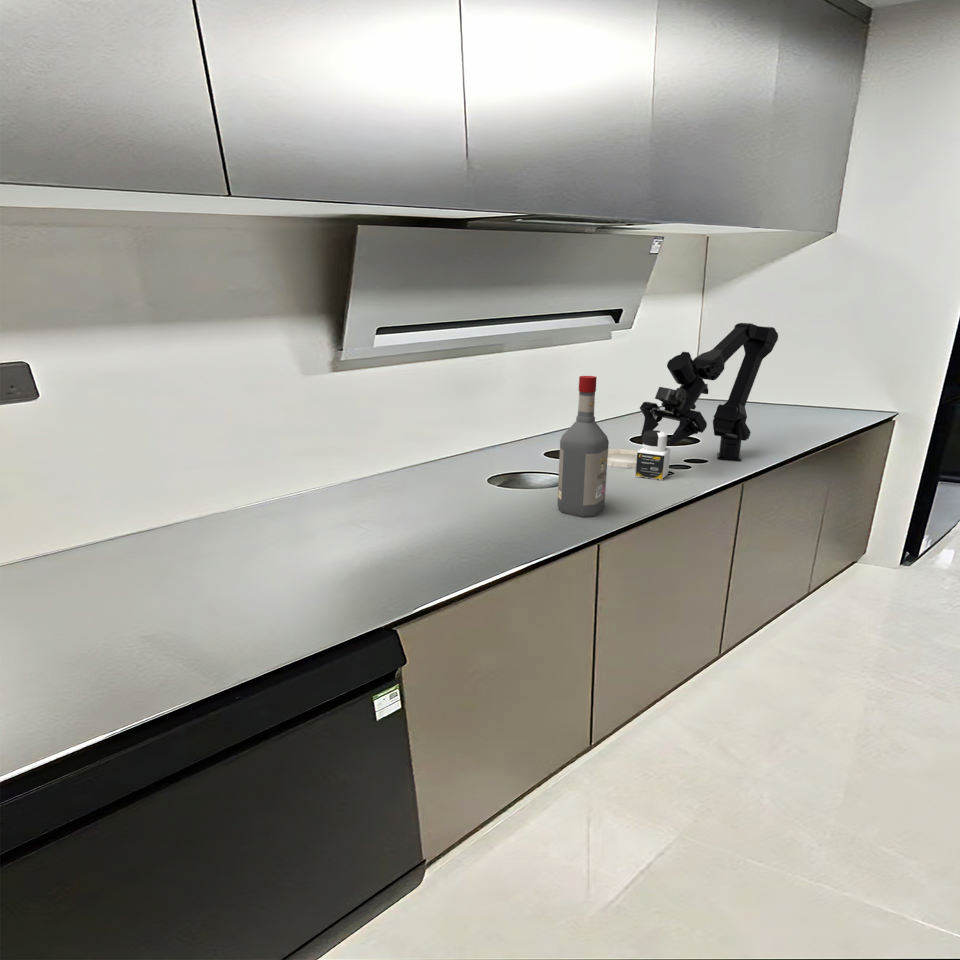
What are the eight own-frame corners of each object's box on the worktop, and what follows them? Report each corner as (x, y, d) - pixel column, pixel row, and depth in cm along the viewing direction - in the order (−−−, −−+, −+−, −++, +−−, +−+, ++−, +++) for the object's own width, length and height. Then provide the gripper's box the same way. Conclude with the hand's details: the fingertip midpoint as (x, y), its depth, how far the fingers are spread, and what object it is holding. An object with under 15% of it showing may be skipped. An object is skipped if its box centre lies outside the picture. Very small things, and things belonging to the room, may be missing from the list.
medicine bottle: (634, 477, 176) (638, 432, 172) (642, 470, 182) (645, 427, 178) (662, 480, 172) (666, 435, 169) (668, 474, 178) (672, 430, 175)
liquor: (607, 508, 151) (616, 376, 142) (590, 519, 144) (598, 381, 135) (571, 500, 156) (578, 372, 147) (553, 511, 149) (558, 377, 140)
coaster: (599, 451, 201) (600, 447, 201) (654, 456, 196) (654, 451, 196) (591, 465, 187) (591, 459, 186) (649, 470, 182) (649, 465, 181)
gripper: (647, 371, 180) (615, 416, 177) (704, 380, 165) (671, 428, 162) (663, 398, 186) (633, 441, 183) (720, 408, 172) (688, 455, 169)
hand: (655, 441), depth 174 cm, fingers open, 9 cm apart
